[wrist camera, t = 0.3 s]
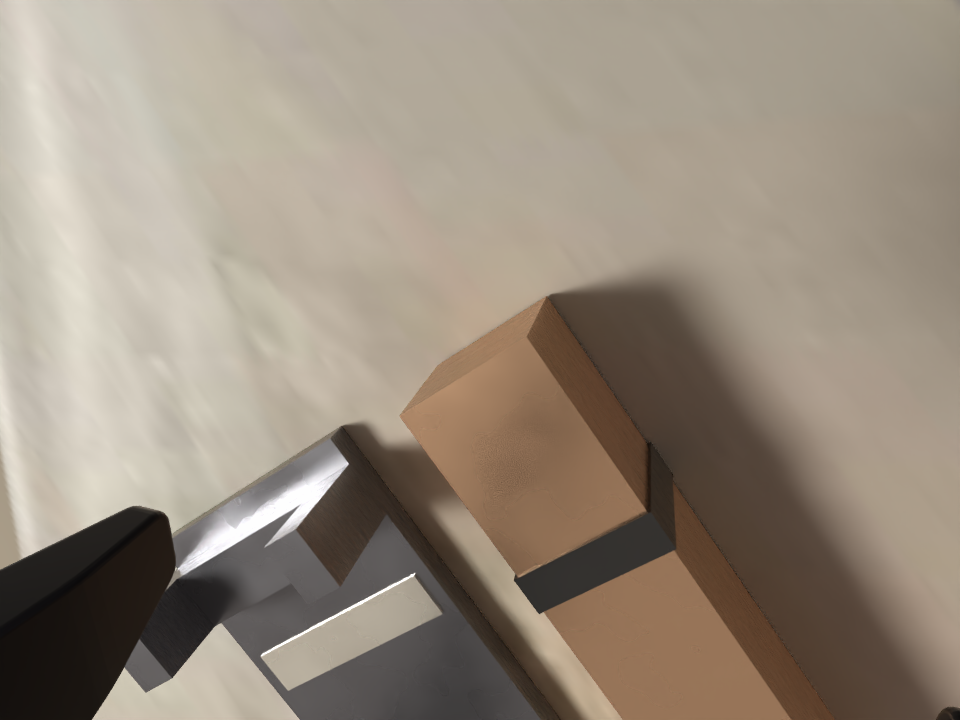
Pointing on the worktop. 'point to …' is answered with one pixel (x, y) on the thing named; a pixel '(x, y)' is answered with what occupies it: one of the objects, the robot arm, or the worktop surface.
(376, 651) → the collar stand
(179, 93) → the worktop surface
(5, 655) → the robot arm
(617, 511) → the banded tan post
